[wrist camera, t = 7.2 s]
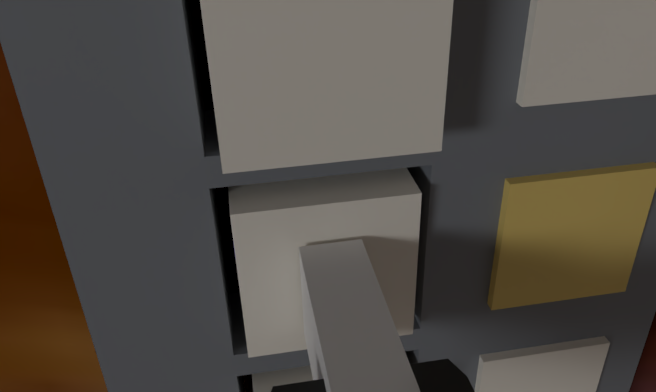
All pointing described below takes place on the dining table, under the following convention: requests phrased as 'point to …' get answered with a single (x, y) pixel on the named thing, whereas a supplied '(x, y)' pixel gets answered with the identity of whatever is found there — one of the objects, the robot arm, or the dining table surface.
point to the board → (425, 168)
